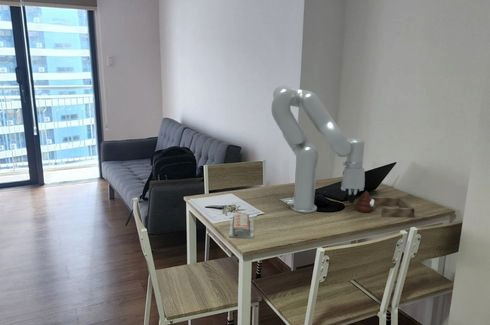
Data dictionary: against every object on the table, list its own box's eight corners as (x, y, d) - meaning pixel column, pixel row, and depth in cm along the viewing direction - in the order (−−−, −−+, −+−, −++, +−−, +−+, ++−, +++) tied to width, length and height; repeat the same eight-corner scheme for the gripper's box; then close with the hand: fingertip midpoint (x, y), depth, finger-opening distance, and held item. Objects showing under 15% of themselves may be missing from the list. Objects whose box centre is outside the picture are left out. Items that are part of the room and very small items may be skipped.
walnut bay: (382, 216, 188) (383, 208, 187) (371, 204, 205) (372, 196, 204) (413, 217, 188) (414, 209, 187) (400, 205, 205) (401, 197, 204)
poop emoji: (356, 205, 202) (358, 187, 200) (374, 208, 199) (376, 189, 197) (354, 211, 193) (355, 193, 191) (372, 214, 190) (374, 195, 188)
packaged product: (254, 228, 159) (229, 227, 159) (254, 239, 160) (228, 238, 160) (253, 211, 177) (230, 211, 177) (253, 222, 178) (230, 221, 178)
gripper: (340, 166, 187) (337, 204, 192) (372, 167, 187) (368, 204, 192) (336, 162, 195) (334, 199, 199) (367, 163, 195) (364, 199, 199)
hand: (351, 201), depth 195 cm, fingers closed
